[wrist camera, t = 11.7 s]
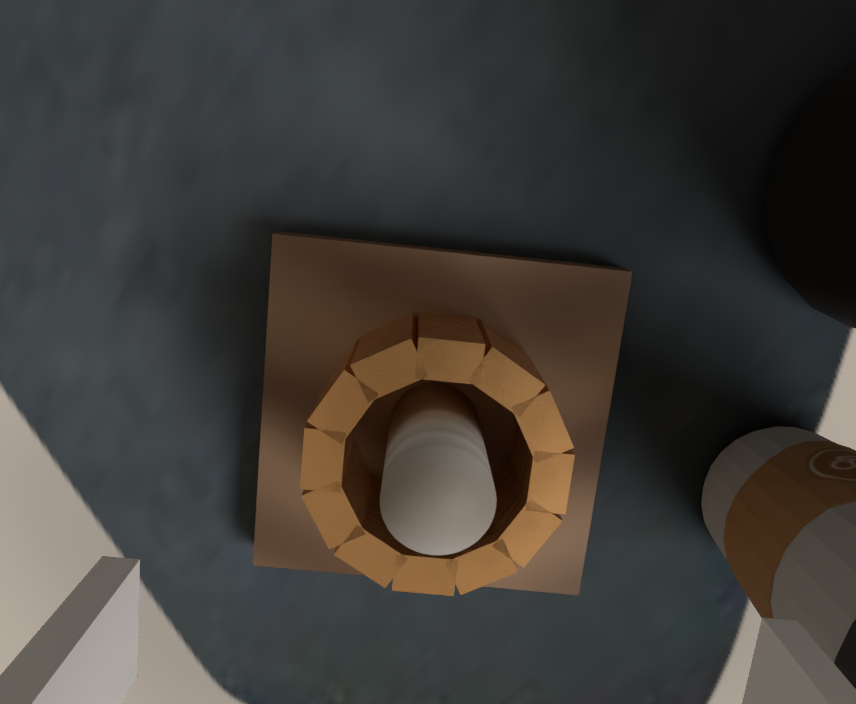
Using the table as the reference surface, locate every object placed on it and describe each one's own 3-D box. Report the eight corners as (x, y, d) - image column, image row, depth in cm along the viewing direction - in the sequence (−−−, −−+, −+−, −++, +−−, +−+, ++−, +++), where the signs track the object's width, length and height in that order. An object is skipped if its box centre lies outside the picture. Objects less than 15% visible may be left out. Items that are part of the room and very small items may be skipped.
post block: (279, 231, 30) (220, 250, 21) (622, 267, 30) (704, 301, 21) (260, 548, 33) (201, 680, 24) (571, 577, 33) (625, 717, 25)
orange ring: (330, 302, 29) (311, 326, 24) (562, 326, 29) (590, 354, 24) (313, 518, 31) (293, 581, 26) (531, 539, 31) (551, 605, 26)
